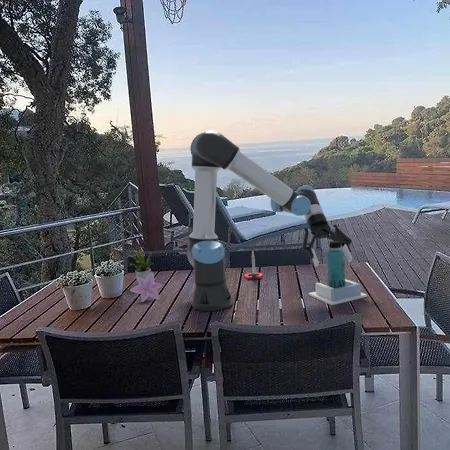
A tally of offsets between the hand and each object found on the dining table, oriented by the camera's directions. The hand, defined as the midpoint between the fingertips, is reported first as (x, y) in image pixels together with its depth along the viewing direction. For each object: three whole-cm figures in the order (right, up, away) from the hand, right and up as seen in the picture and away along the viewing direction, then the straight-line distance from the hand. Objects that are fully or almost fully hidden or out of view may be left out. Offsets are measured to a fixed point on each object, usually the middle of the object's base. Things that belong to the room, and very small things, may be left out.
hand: (334, 262), depth 163 cm
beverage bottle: (+1, -12, 0) cm, 12 cm away
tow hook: (-28, -10, +34) cm, 45 cm away
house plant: (-80, -13, +38) cm, 89 cm away
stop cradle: (+1, -12, 0) cm, 12 cm away
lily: (-72, -16, +14) cm, 75 cm away
